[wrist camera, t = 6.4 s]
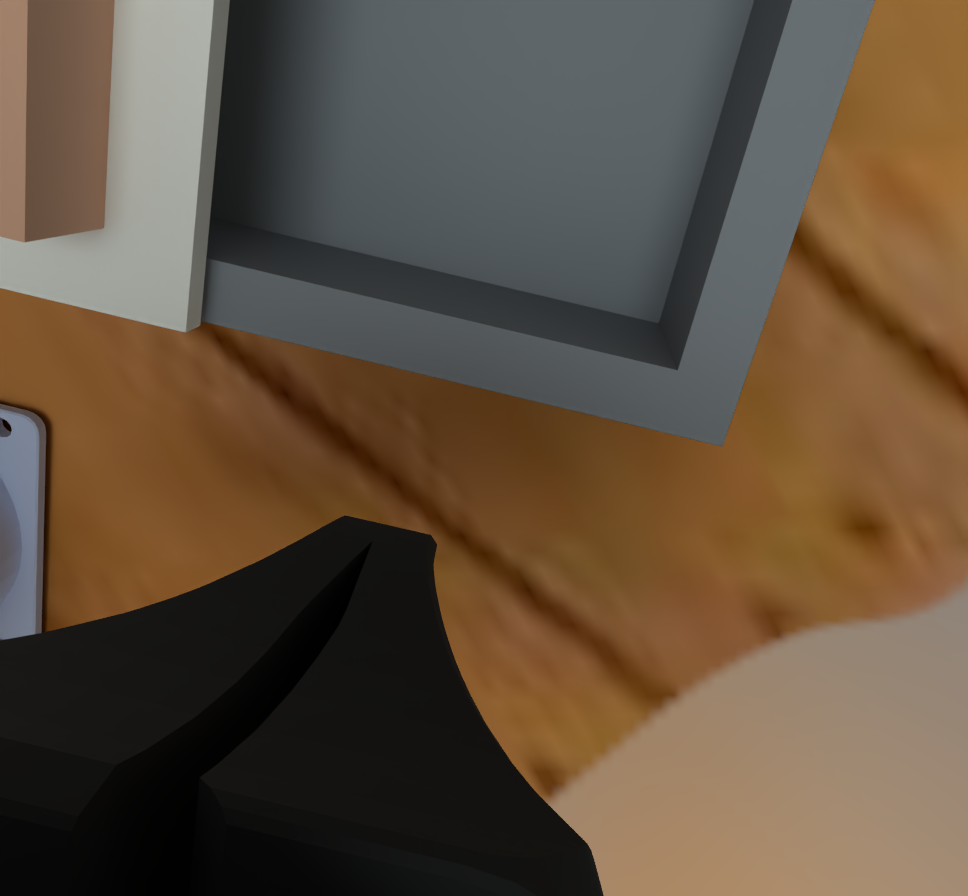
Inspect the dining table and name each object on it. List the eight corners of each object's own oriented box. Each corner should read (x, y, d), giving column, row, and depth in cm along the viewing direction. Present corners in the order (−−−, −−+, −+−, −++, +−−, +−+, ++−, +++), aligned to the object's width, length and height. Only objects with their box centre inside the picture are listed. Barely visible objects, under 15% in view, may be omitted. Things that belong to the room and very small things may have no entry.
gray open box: (-21, 206, 21) (-196, 225, 16) (-25, -412, 16) (-265, -631, 12) (690, 376, 20) (721, 446, 16) (878, -220, 16) (1001, -370, 11)
